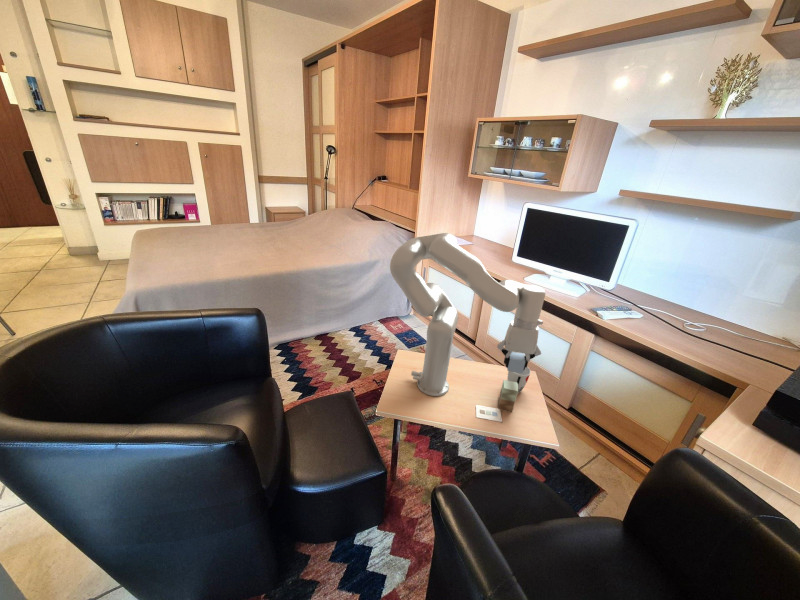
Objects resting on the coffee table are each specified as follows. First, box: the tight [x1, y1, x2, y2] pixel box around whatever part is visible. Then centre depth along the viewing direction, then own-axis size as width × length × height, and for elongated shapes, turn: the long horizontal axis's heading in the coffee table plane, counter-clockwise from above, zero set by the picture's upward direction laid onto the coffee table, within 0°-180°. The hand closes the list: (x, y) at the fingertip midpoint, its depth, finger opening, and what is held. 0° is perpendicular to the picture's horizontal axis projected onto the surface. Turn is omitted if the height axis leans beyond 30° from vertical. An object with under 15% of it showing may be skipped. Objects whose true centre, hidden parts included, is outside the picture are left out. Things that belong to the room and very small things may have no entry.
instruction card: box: [475, 404, 503, 423], centre depth 120 cm, size 9×6×1 cm
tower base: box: [497, 379, 519, 413], centre depth 122 cm, size 5×5×10 cm
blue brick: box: [506, 352, 526, 373], centre depth 117 cm, size 5×5×5 cm
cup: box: [507, 366, 532, 394], centre depth 132 cm, size 8×8×10 cm
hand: (514, 366), depth 118 cm, fingers closed on blue brick, 5 cm apart
